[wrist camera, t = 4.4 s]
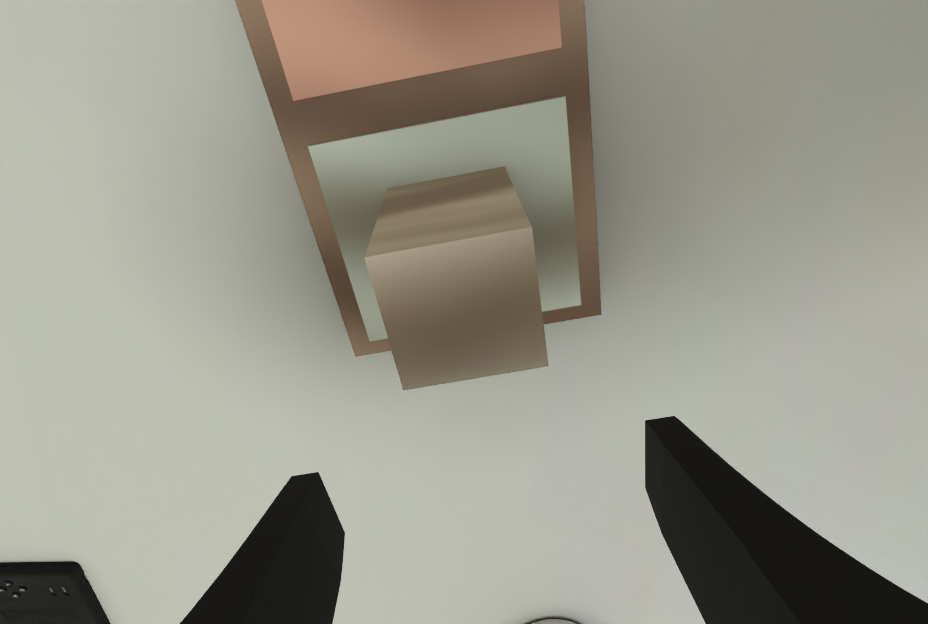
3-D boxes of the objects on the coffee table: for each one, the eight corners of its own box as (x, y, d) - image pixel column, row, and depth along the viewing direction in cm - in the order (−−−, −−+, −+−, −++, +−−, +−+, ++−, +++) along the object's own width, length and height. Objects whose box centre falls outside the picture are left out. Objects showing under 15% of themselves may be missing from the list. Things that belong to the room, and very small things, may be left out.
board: (165, -244, 13) (141, -268, 12) (556, -338, 13) (566, -371, 11) (359, 343, 22) (354, 359, 21) (594, 302, 21) (602, 316, 20)
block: (387, 188, 17) (364, 257, 12) (504, 166, 17) (531, 227, 12) (414, 292, 19) (403, 390, 14) (519, 273, 19) (548, 366, 14)
